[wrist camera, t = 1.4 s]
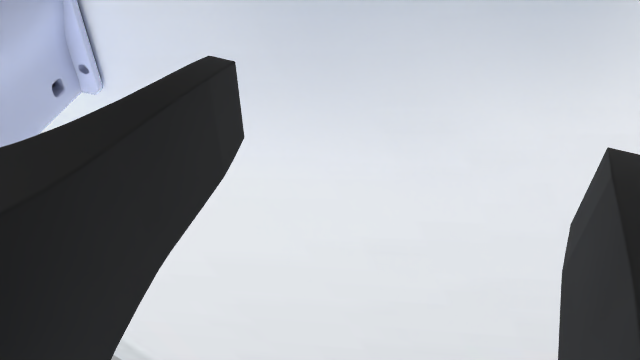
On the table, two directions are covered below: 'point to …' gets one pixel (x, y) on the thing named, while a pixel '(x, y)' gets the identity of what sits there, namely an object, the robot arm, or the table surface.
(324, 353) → the table surface
